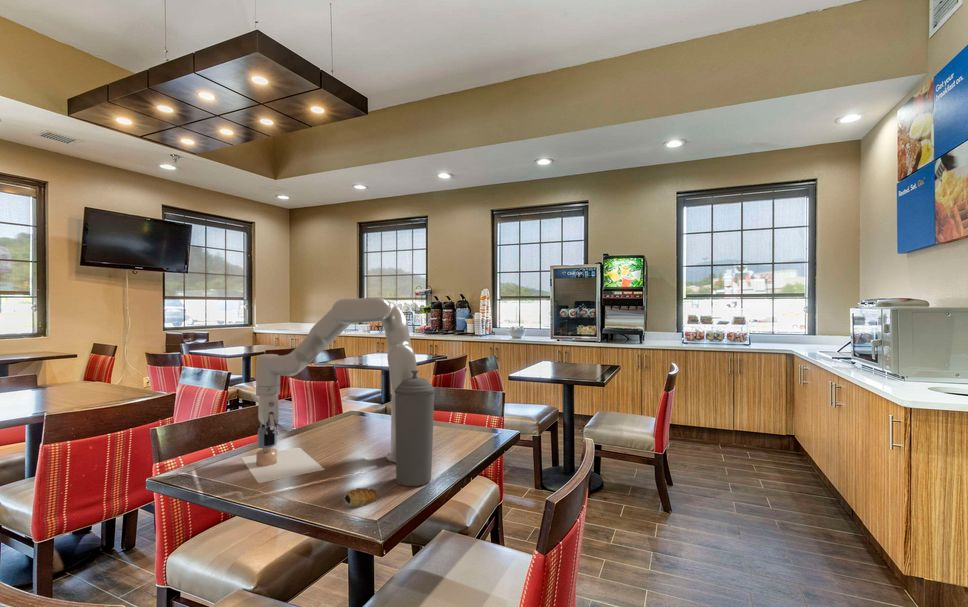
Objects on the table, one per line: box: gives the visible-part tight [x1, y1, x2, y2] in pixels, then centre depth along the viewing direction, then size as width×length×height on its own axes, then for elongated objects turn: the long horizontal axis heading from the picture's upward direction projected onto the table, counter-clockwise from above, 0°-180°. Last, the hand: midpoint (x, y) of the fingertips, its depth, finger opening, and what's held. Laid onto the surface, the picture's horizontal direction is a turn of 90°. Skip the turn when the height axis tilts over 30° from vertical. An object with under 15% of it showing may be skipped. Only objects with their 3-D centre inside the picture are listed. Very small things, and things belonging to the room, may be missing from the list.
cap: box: [257, 426, 278, 449], centre depth 152 cm, size 6×6×6 cm
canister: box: [395, 369, 436, 487], centre depth 140 cm, size 13×13×35 cm
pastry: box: [342, 487, 379, 509], centre depth 124 cm, size 9×7×4 cm
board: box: [240, 447, 326, 484], centre depth 152 cm, size 30×20×1 cm, turn 38°
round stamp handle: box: [255, 447, 278, 466], centre depth 152 cm, size 6×6×11 cm
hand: (267, 442), depth 152 cm, fingers closed on cap, 5 cm apart
